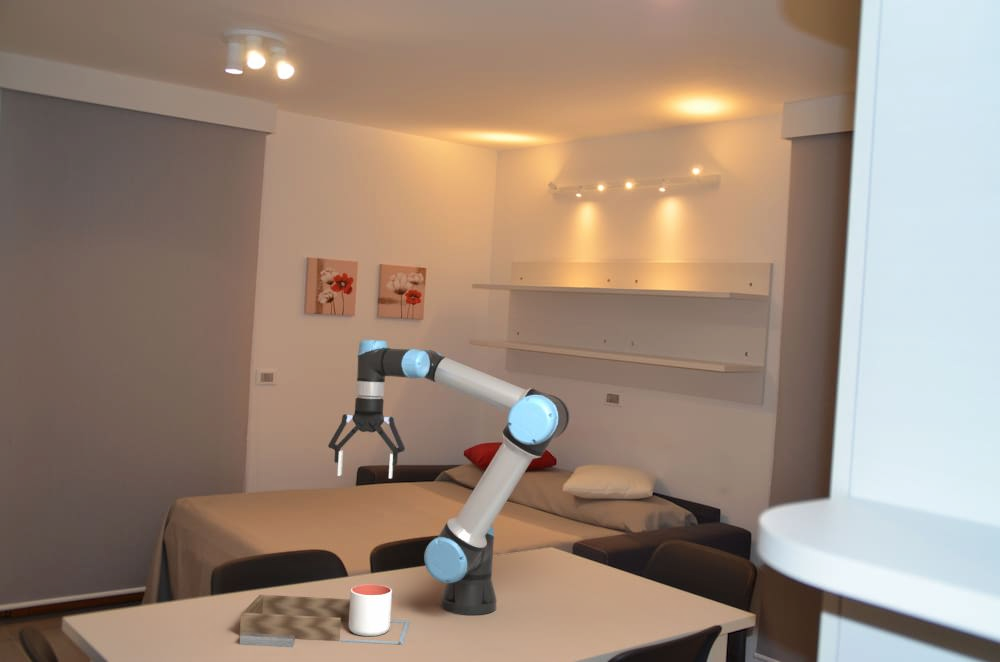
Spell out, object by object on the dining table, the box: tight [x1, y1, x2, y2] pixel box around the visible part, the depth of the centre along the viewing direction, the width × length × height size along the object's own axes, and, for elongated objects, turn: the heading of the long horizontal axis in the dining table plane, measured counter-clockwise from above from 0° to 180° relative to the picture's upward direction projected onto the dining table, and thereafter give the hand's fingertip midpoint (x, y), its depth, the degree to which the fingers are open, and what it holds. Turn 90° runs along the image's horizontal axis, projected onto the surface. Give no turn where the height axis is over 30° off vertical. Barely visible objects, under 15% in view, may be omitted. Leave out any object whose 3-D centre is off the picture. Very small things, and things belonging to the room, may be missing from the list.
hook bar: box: [239, 630, 296, 648], centre depth 199 cm, size 12×4×2 cm, turn 90°
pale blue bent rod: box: [340, 619, 410, 646], centre depth 211 cm, size 14×17×1 cm
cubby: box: [239, 594, 350, 642], centre depth 211 cm, size 23×16×5 cm
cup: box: [348, 583, 393, 637], centre depth 211 cm, size 10×10×10 cm
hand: (365, 476), depth 232 cm, fingers open, 13 cm apart
